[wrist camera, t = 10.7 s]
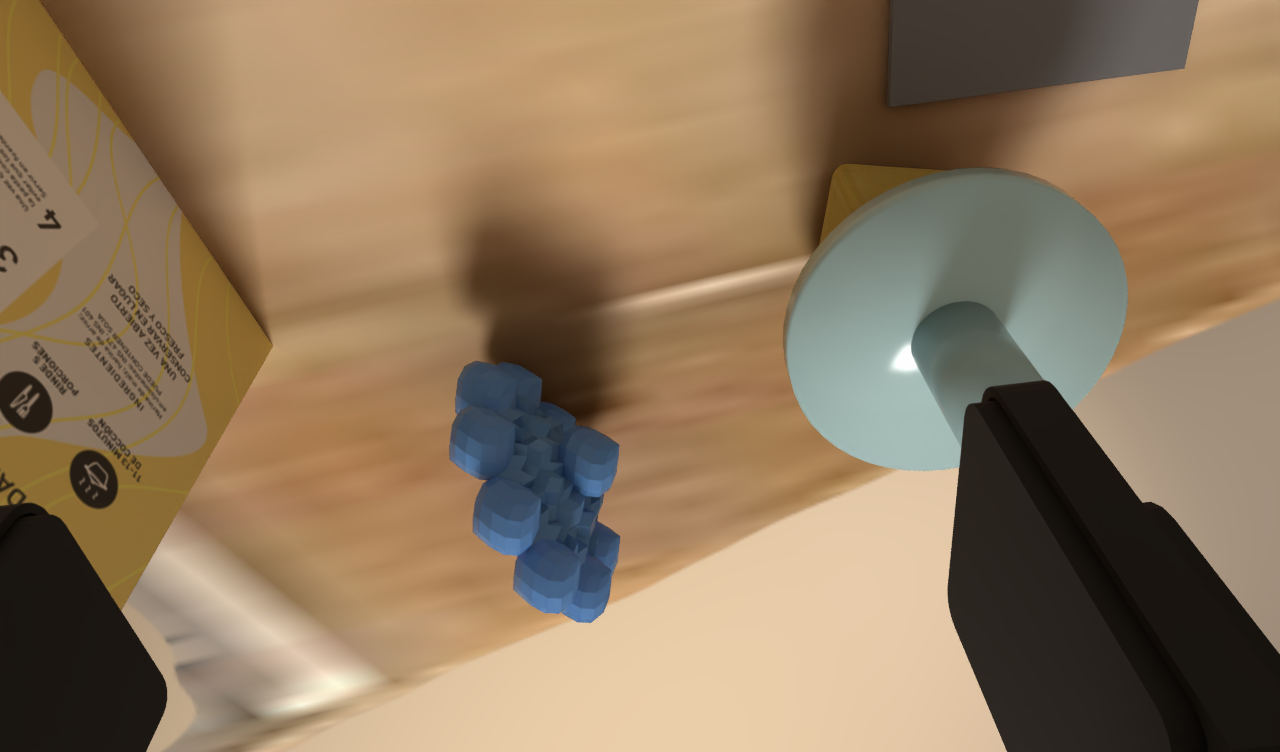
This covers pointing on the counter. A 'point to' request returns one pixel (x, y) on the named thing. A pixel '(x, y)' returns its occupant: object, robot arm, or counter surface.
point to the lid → (949, 311)
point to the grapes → (537, 488)
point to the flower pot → (862, 189)
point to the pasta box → (102, 315)
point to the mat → (1028, 44)
